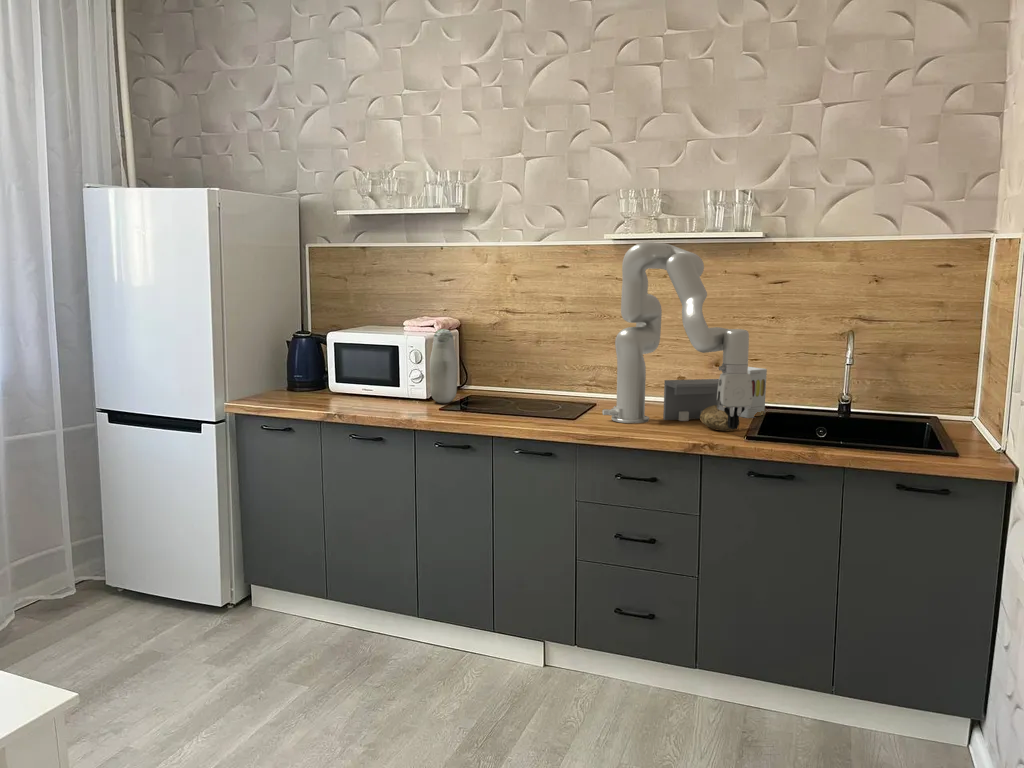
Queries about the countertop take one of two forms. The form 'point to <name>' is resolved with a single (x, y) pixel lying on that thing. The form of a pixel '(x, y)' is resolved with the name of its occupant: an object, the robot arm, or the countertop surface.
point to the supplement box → (756, 392)
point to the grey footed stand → (688, 398)
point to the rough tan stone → (715, 418)
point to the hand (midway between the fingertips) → (733, 428)
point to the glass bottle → (443, 367)
